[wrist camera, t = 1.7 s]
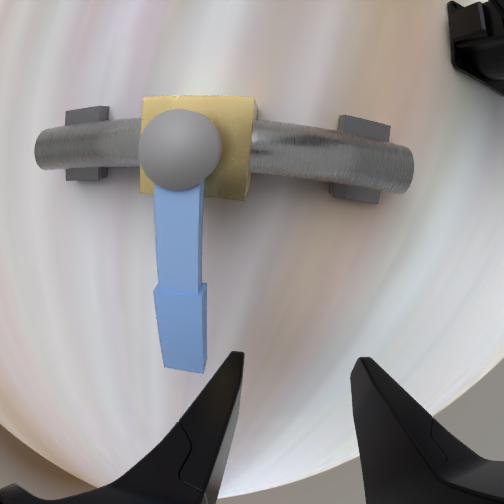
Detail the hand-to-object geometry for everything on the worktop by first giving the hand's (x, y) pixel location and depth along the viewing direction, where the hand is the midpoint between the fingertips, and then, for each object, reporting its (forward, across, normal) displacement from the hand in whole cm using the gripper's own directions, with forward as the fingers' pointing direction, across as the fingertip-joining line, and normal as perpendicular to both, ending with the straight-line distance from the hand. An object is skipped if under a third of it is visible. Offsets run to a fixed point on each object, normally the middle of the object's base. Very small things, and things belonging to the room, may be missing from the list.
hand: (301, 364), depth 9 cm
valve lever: (+5, +5, -1) cm, 7 cm away
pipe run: (+11, +5, -6) cm, 13 cm away
